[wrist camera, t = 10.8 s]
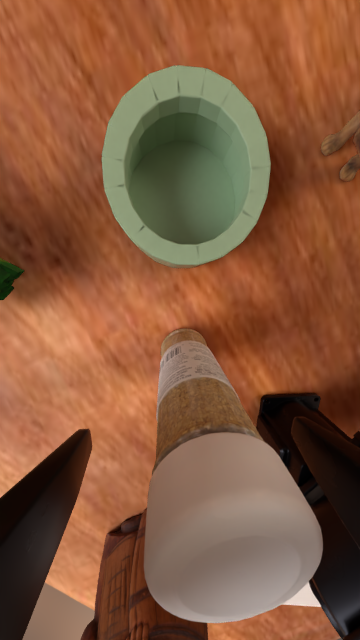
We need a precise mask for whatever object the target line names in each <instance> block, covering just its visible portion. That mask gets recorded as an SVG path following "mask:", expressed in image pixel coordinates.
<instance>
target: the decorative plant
mask: <svg viewBox="0 0 360 640" xmlns="http://www.w3.org/2000/svg"><path fill="white" fill-rule="evenodd" d="M23 272H24V270H22V269H20V268H19V267H17V266H15V265H13V264H11V263H9V262H7V261H5V260H3V259H1V258H0V300H4V299H5V298H6V297H7V296H8V295H9V294H10V292H11V291H12V290H13V289H14V287H13V286H11V285H12V283H13V282H14V280H15V279H17V278H18V277H19V276H20V275H21V274H22V273H23Z"/></svg>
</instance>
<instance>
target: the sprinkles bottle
mask: <svg viewBox="0 0 360 640" xmlns="http://www.w3.org/2000/svg"><path fill="white" fill-rule="evenodd" d="M161 357H162V359H161V362H160V372H159V385H158V400H157V446H156V461H155V465H154V468H153V471H152V478H151V481H150V485H149V491H148V502H147V516H146V530H145V549H144V573H145V579H146V583H147V586H148V588H149V591H150V593H151V595H152V596H153V598H154V599H155V600H156V602H157V603H158V604H159V605H161V606H162V607H163V608H164V609H165V610H167V611H168V612H170V613H171V614H173V615H176V616H178V617H180V618H183V619H186V620H190V621H196V622H204V623H223V622H232V621H239V620H243V619H246V618H250V617H253V616H256V615H258V614H261V613H264V612H267V611H269V610H272V609H274V608H276V607H278V606H279V605H281V604H283V603H284V602H286V601H287V600H289V599H290V598H292V597H293V596H294V595H295V594H297V593H298V592H299V591H300V590H301V589H302V588H303V587H304V586H305V585H306V584H307V583H308V582H309V580H310V579H311V578H312V577H313V575H314V573H315V572H316V570H317V568H318V566H319V564H320V561H321V557H322V552H323V538H322V532H321V528H320V525H319V523H318V521H317V519H316V516H315V515H314V513H313V511H312V509H311V507H310V506H309V504H308V502H307V501H306V499H305V497H304V496H303V494H302V492H301V491H300V489H299V487H298V486H297V484H296V482H295V481H294V479H293V478H292V476H291V474H290V473H289V471H288V470H287V468H286V466H285V465H284V463H283V462H282V460H281V458H280V457H279V456H278V454H277V453H276V452H275V451H274V449H273V448H271V447H270V446H269V445H268V444H267V443H266V442H265V441H263V439H262V438H261V436H260V435H259V433H258V431H257V429H256V427H255V426H254V425H253V423H252V421H251V419H250V417H249V416H248V414H247V413H246V411H245V410H244V408H243V406H242V404H241V403H240V400H239V397H238V395H237V394H236V392H235V390H234V389H233V387H232V385H231V384H230V382H229V380H228V379H227V377H226V375H225V374H224V372H223V370H222V369H221V367H220V365H219V364H218V362H217V360H216V359H215V357H214V355H213V354H212V352H211V351H210V349H209V348H208V347H207V344H206V341H205V339H204V338H203V337H202V335H201V334H200V333H198V332H197V331H195V330H193V329H187V328H185V329H178V330H175V331H173V332H172V333H170V334H169V335H168V336H167V337H166V338H165V339H164V341H163V343H162V346H161Z"/></svg>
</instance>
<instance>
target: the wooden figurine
mask: <svg viewBox="0 0 360 640" xmlns="http://www.w3.org/2000/svg"><path fill="white" fill-rule="evenodd" d="M146 516H147V509H146V510H144V512H143V514H142V515H140V516H135V517H132V518H131V519H130V520H128V521H125V522H123V523H122V525H121V530H120V531H118V532H115V533H108V534H107V535H106V539H105V545H104V551H103V556H102V560H101V565H100V572H99V579H98V586H97V594H96V601H95V616H94V619H93V620H92V621H91V622H90V623H89V624H88V626H87V627H86V629H85V630H84V632H83V635H82V637H81V640H208V631H207V623H204V622H196V621H190V620H186V619H183V618H180V617H178V616H176V615H173V614H171V613H170V612H168V611H167V610H165V609H164V608H163V607H162V606H161V605H159V604H158V603H157V602H156V600H155V599H154V598H153V596H152V595H151V593H150V591H149V588H148V586H147V583H146V579H145V573H144V549H145V530H146Z"/></svg>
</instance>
